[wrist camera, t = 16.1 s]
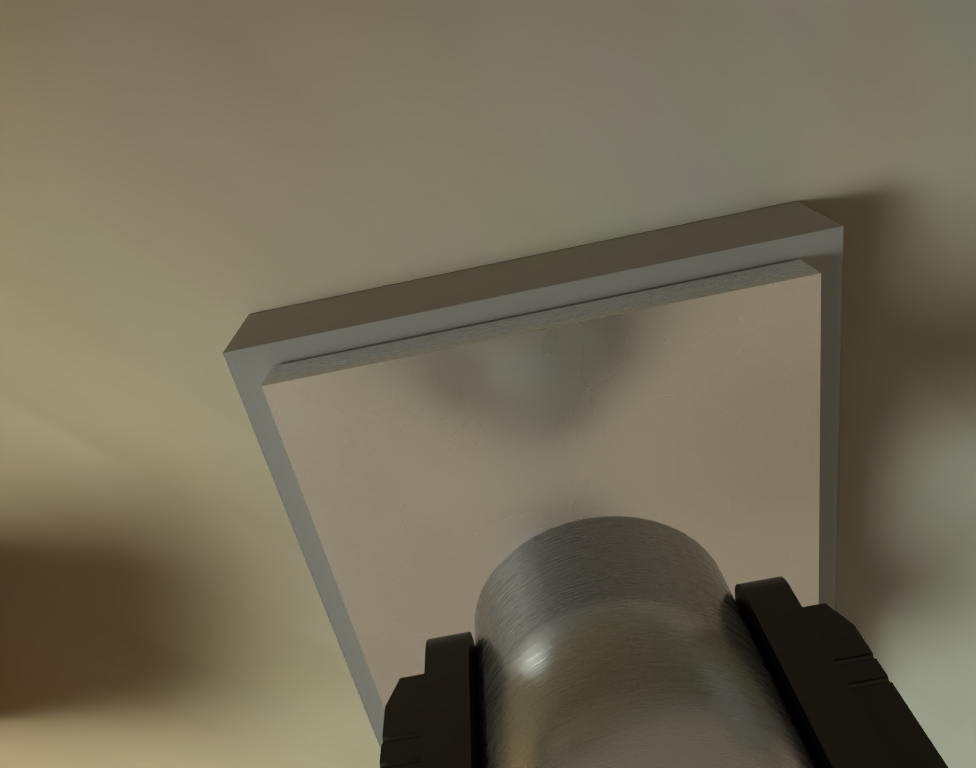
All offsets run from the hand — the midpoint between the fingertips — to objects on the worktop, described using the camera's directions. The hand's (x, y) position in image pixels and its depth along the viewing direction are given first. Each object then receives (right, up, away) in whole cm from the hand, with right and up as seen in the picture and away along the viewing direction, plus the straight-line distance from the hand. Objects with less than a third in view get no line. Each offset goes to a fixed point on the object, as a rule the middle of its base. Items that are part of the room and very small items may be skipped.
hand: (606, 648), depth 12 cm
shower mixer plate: (0, 0, +7) cm, 7 cm away
